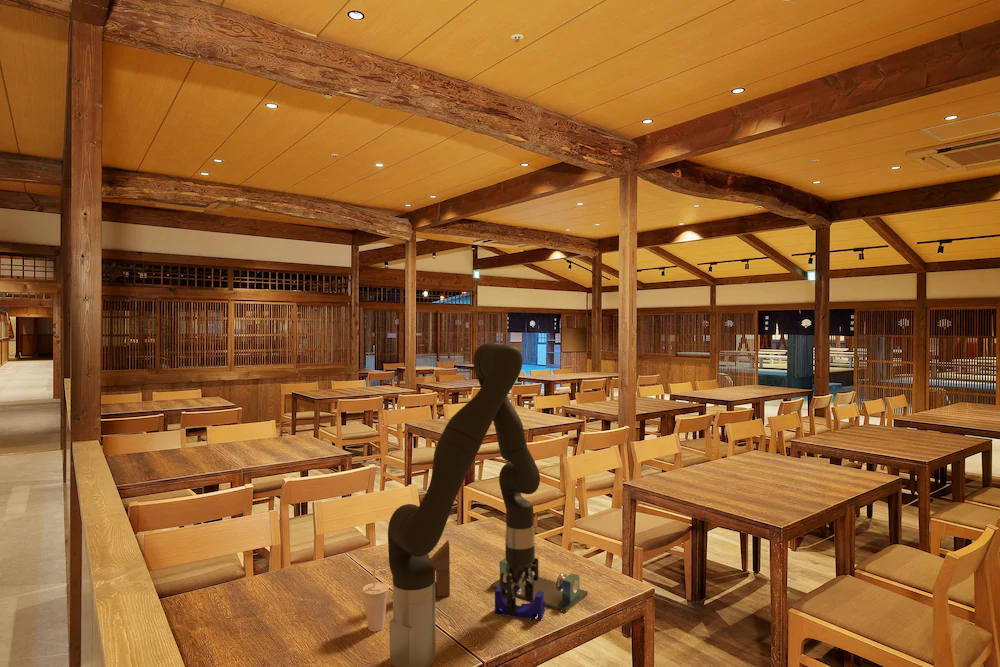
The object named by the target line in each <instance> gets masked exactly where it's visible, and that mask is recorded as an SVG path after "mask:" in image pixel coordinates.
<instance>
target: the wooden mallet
mask: <svg viewBox="0 0 1000 667" xmlns="http://www.w3.org/2000/svg"><path fill="white" fill-rule="evenodd" d="M429 558H430V560H431V562H432V563H433V565H434V567H435V598H436V597H437V598H440V596H443V597H449V596H450V595H451V590H450V589H451V587H450V586H451V584H450V583H451V578H450V576H451V574H450V572H451V571H450V569H451V568H450V564H451V562H450V540H449V539H448V540H446V541H445V542H444V543H443V545H441V547H440V548H439V549H438V550H437V551H435V553H434V554H433V555H432V556H431V557H429Z"/></svg>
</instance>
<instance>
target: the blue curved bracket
mask: <svg viewBox="0 0 1000 667" xmlns="http://www.w3.org/2000/svg"><path fill="white" fill-rule="evenodd" d="M544 612H545V613H546V606H545V601H544V592H541V591H538V592H537V594H536V596H535V600H534V601H530V602H528V603H527V602H526V603H521V605H517V604H516V612H515V613H514V614H512V613H510V612H508V611H507V599H506V598H503V597H501V586H498V587H497V588H496V589H494V614H495V615H502V616H507V615H509V616H508V617H514V616H515V618H520V617H523V618H522V619H527V618H531V619H530V620H534V619H535V617H536V616H537V614H538V618H537V619H538V620H537V621H540V620H541V619H542V620H543V617H544V615H545V613H544ZM543 614H544V615H543ZM542 620H541V621H542Z"/></svg>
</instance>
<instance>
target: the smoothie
mask: <svg viewBox="0 0 1000 667" xmlns="http://www.w3.org/2000/svg"><path fill="white" fill-rule="evenodd" d="M361 592H362V593H361V594H362V597H363V600H364V608H365V615H366V622H367V629H368V631H369V630H370V631H369V632H371V631H373V632H372V633H377V632H380V631H382V630H383V629H384V627H385V619H386V618H385V617H386V609H387V602H388V601H387V600H388V595H389V592H390V587H389V585H388V584H387V583H385V582H380V581H378V582H376V569H375V568H373V569H372V582H371V583H368V584H366V585H364V586H363V587H362V591H361ZM379 630H380V631H379ZM376 631H377V632H376Z"/></svg>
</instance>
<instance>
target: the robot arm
mask: <svg viewBox="0 0 1000 667" xmlns="http://www.w3.org/2000/svg"><path fill="white" fill-rule="evenodd" d="M472 361H473V362H472V363H473V370H474V373H475V375H476V379H477V381H478V384H479V386H480V389H479V390H478V392H477V393H476V394H475V396H473V397H472V399H471V400H469V401H468V402H467V403H465V405H463V406H462V407H461V408H460V409H459V410H458V411H456V412H455V414H454V415H453V416H451V418H450V419H449V420H448V422H447V424H446V425H445V428H444V429H443V431H442V434H441V435H440V437H439V439H438V441H437V443H436V446H435V449H434V453H433V460H432V461H433V462H432V468H431V469H432V470H431V477H430V481H429V482H430V483H429V484H428V489H427V490H426V493H425V494H424V496H423V498H422V501H421V502H420V504H419V506H418V505H416V504H413V503H412V504H411V503H407V504H402V505H401V506H399V507H398V508H396V509H395V511H393V513H392V515H391V517H390V519H389V522H388V528H387V548H388V564H389V565H388V566H389V569H390V573H391V575H392V619H390V620H389V625H388V626H389V665H390V666H392V667H431V666H432V664H434V663H435V661H436V660H437V659H436V658H437V656H436V655H437V653H436V650H437V648H436V647H437V645H436V644H437V643H436V641H437V639H436V636H437V634H436V630H437V628H436V597H435V581H436V571H435V567H434V565H433V563H432V562H431V560H430V558H431V557H430V556H429V554H430V552H432V551H433V550H434V549H435V547H436V546H437V545H438V543H439V541H440V539H441V538H442V535H443V534H444V530H445V528H446V525H447V521H448V520H449V516H450V514H451V511H452V509H453V505H454V503H455V501H456V498H457V496H458V494H459V491H460V490H461V487H462V485H463V483H464V481H465V479H466V477H467V474H468V472H469V471H470V468H471V467H472V464H473V462H474V461H475V459H476V457H477V454H479V450H480V448H481V446H482V445H483V443H484V440H485V437H486V435H487V433H488V431H489V429H490V427H491V425H492V423H493V425H494V429H495V434H496V438H497V445H498V447H499V453H500V456H501V458H502V459H503V460H505V461H507V462H506V463H505V464H504V465H503V466H502V467H501V469H500V472H499V475H498V478H499V479H498V483H499V487H500V488H499V489H500V491H501V497H502V499H503V503H504V507H505V523H506V525H505V533H504V534H505V536H504V537H505V539H504V540H505V542H504V546H505V551H504V552H505V554H504V555H505V558H504V559H506V561H507V562H508V564H509V570H508V573H506V574H505V573H502V574H501V597H503V598H506V599H507V611H508V612H510V613H512V614H514V613H515V612H516V605H517V596H516V594H517V591H518V590H519V589H520V587H521V584H522V583H523V582H525V584H526V585H525V599H524V600H526V601H529V602H532V600H533V586H534V585H535V581H538V578H539V577H540V576H539V558H537V557H535V555H536V553H535V552H536V551H535V550H536V548H535V545H536V543H535V537H536V536H535V527H534V506H533V503H532V502H530V501H529V500H527V499H526V498H524V497H523V496H522V494H523V495H533V494H534V493H535V492H537V490H538V488H540V487H539V486H540V482H541V475H540V472H539V468H538V466H537V464H536V462H535V460H534V457H533V456H532V454H531V451H530V450H529V448H528V444H527V439H526V438H527V437H526V433H525V430H524V429H525V428H524V425H523V423H522V420H521V417H520V416H519V414H518V412H517V410H516V409H515V407H514V406H513V404H512V403H511V400H510V399H509V397H508V395H509V393H510V392H511V390H512V388H513V386H514V385H515V384H516V382H517V380H518V377H519V376H520V375H521V372H522V368H523V355H522V352H521V351H520V349H519V348H518V347H516V346H513V345H509V344H502V343H501V344H500V343H490V342H489V343H488V342H487V343H483V344H481V345H480V346H478V347H477V348H476V350H475V352H474V354H473V359H472ZM511 582H513V583H516V584H517V585H512V584H511ZM512 588H513V589H514V590H513V593H512ZM505 589H506V592H505Z"/></svg>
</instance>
